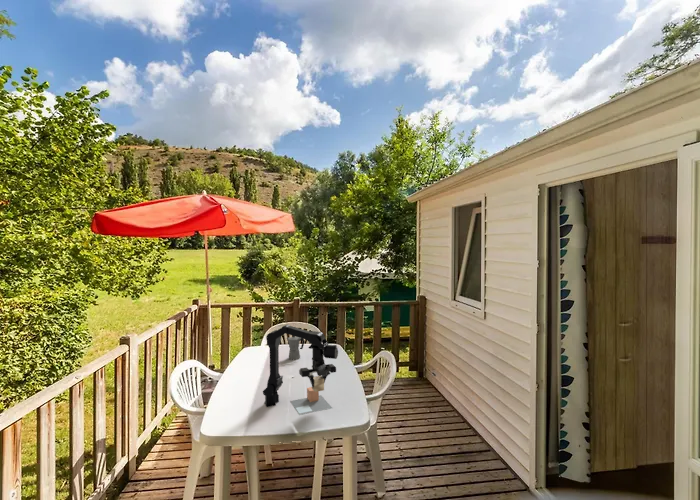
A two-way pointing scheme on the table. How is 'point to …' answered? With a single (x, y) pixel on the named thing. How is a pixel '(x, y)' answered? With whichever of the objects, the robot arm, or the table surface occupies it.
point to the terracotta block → (312, 395)
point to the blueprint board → (310, 405)
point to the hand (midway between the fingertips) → (317, 386)
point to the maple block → (318, 383)
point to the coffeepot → (294, 347)
